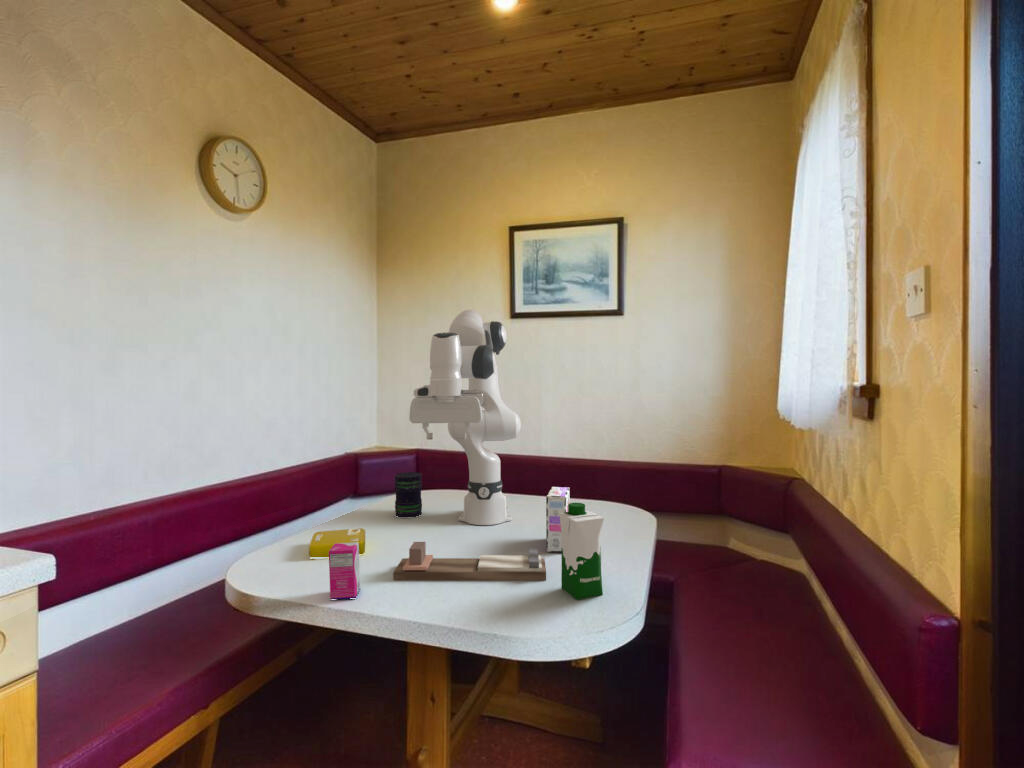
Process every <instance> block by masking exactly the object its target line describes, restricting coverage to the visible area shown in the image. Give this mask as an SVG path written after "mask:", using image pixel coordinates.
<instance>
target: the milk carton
mask: <svg viewBox="0 0 1024 768" xmlns="http://www.w3.org/2000/svg"><path fill="white" fill-rule="evenodd" d="M559 515H560V524H561V551H562V553H561V590H563V591H564V592H565V593H567V594H568V595H569V596H571V597H572V598H573V599H575V600H576V601H579V600H583V599H588V598H593V597H598V596H603V577H602V530H603V525H604V520H605V518H604V517H603V516H601V515H599V514H597V513H595V512H592V511H591V510H587V509H586V504H585V503H582V502H570V504H568V512H564V513H560V514H559Z"/></svg>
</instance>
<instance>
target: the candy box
mask: <svg viewBox="0 0 1024 768" xmlns="http://www.w3.org/2000/svg"><path fill="white" fill-rule="evenodd" d="M570 493H571V492H570V487H567V486H565V487H561V486H551V488H550V490H549V491H548V494H547V495H546V498H545V499H546V500H545V501H546V503H545V504H546V505H545V506H546V507H545V508H546V509H545V512H546V513H545V514H546V516H545V517H546V518H545V519H546V520H545V521H546V525H545V526H546V535H545V537H546V552H548V553H558V554H559V553H561V554H562V551H561V524H560V515H559V514H560V513H564V512H568V504H570V503H571V502H570V501H571V498H570Z"/></svg>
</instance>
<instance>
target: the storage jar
mask: <svg viewBox="0 0 1024 768" xmlns="http://www.w3.org/2000/svg"><path fill="white" fill-rule="evenodd" d="M422 482H423V478H422V473H421V472H417V471H409V472H408V471H406V472H399V473H395V474H394V489H395V501H394V509H395V510H394V512H395V515H396V516H398V517H414V518H417V517H416V516H418V517H420V516H419V515H421V514H422V515H423V512H422V510H423V502H422V501H423V500H422V487H423V486H422V484H423V483H422ZM422 515H421V516H422ZM396 516H395V517H396ZM398 517H397V518H398Z"/></svg>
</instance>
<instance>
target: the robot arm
mask: <svg viewBox="0 0 1024 768" xmlns="http://www.w3.org/2000/svg"><path fill="white" fill-rule="evenodd" d="M448 329H449V330H448V332H438V333H435V334H433V335H432V336H431V342H430V351H429V368H430V370H431V373H430V377H429V384H427V385H423V386H420V387H417V388H415V389H414V390H413V396H414V398H413V399H411V402H410V405H409V406H410V407H409V418H408V419H409V421H410V422H411V424H422V427H421V428H422V429H423V431H424V432H425V434H426V440H428V441H429V440H433V437H434V436H433V434H434V433H433V432H430V430H429V429H428V427H429V426H430V425H429V424H447V431H448V433H449V435H450V437H451V438H452V439H453V440H454V441H456V442H457V443H458V444H459V445H460V446H461V447H462V448H463V450H464V452H465V454H466V457H467V461H468V472H469V473H468V474H469V475H468V477H469V479H468V483H467V491H468V492H467V494H465V496H464V497H463V513H462V514H461V515H459V517H458V521H460V522H464V523H467V524H470V525H475V526H492V525H499V524H502V523H505V522H509V521H510V522H511V521H512V520H513V517H512V515H511V514H510V513H509V511H508V510H507V509H508V506H507V496H506V495H505V494H504V493H503V492H502V490H503V481H502V478H501V473H502V472H501V459H500V457H499V455H498V454H496V453H495V452H493V451H491V450H489V449H487V448H485V447H484V445H483V443H485V442H505V441H508V440H514V439H516V438H517V437H518V436H519V435H520V433H521V429H522V421H521V418H520V416H519V415H518V413H516V411H514V410H512V409H511V408H509V406H507V405H506V404H505V402H504V401H503V399H502V397H501V394H500V393H501V392H500V385H499V372H498V371H499V370H498V364H497V360H496V356H498V355H500V352H501V351H502V350H503V349H504V348H505V346H506V343H507V336H508V335H507V331H506V328H505V326H504V325H503V324H502V323H501V322H500V321H494V320H493V321H490V322H484V320H483V318H482V316H481V314H480V313H478V312H477V311H476V310H473V309H465V310H463V311H461V312H459V313H458V314H457V315H456V316H455V318H454V319H453V320H452V322H451V324H450V326H449V328H448ZM495 355H496V356H495ZM462 379H468V389H462V388H463V384H462V383H463V381H462ZM482 408H483V409H482Z"/></svg>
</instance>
